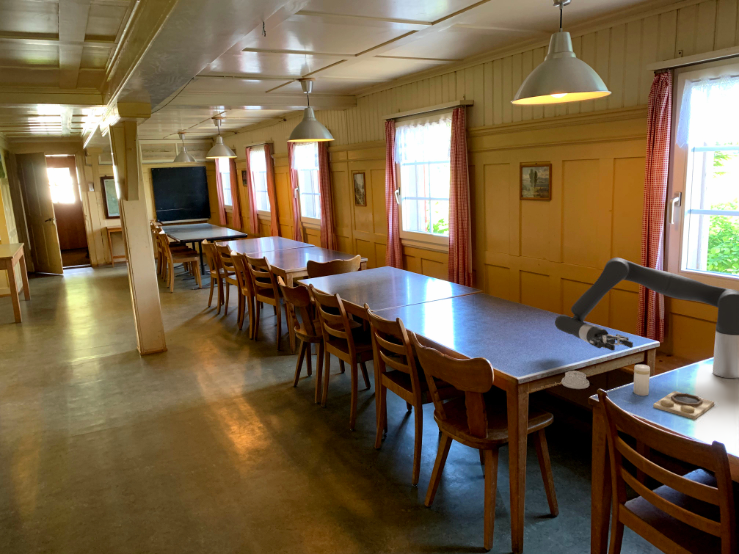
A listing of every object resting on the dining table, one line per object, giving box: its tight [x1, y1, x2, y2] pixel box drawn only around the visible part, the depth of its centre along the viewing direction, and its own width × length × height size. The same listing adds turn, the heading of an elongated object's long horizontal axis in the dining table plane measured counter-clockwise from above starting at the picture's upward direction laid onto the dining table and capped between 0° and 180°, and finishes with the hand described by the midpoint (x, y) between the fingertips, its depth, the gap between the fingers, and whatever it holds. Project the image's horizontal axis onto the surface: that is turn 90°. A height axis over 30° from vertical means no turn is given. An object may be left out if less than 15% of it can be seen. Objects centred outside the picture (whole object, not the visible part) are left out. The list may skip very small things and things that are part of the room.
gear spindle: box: [632, 364, 651, 396], centre depth 194 cm, size 5×5×10 cm
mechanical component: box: [561, 370, 590, 390], centre depth 206 cm, size 10×4×10 cm
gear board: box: [652, 390, 715, 420], centre depth 183 cm, size 16×13×2 cm
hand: (623, 346), depth 203 cm, fingers open, 8 cm apart
